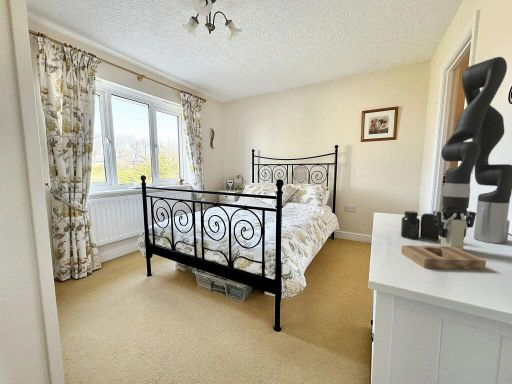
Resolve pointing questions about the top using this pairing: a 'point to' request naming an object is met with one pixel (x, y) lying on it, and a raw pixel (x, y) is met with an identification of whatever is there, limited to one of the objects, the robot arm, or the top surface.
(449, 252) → the board
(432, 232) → the battery charger
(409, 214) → the supplement bottle
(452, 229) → the skincare box
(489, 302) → the top surface
